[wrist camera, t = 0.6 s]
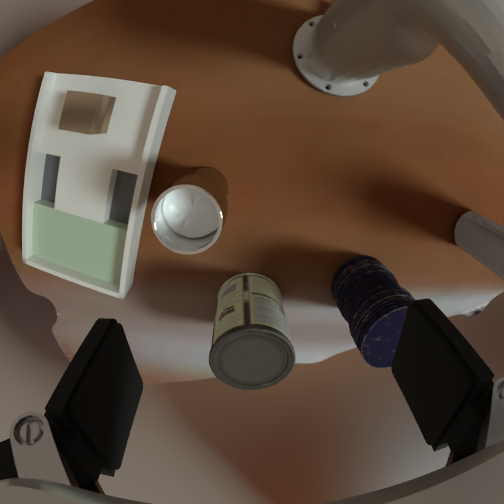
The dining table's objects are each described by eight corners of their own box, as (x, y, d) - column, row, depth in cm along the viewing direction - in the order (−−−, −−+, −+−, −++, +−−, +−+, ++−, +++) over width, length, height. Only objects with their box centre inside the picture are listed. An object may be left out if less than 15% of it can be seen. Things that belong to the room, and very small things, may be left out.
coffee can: (264, 334, 50) (270, 397, 37) (207, 314, 48) (197, 376, 35) (294, 286, 46) (311, 345, 33) (232, 261, 44) (228, 316, 31)
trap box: (61, 75, 32) (45, 71, 28) (176, 91, 35) (168, 86, 30) (36, 251, 43) (22, 262, 38) (132, 285, 45) (123, 299, 41)
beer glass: (174, 171, 39) (138, 195, 25) (223, 157, 38) (212, 172, 25) (189, 219, 42) (163, 264, 28) (237, 206, 41) (234, 247, 27)
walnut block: (86, 93, 31) (67, 90, 27) (116, 97, 32) (99, 94, 27) (77, 127, 33) (58, 129, 29) (106, 133, 34) (89, 134, 29)
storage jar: (368, 313, 49) (402, 372, 35) (320, 300, 47) (346, 364, 34) (395, 264, 45) (442, 314, 32) (347, 246, 44) (387, 297, 30)
